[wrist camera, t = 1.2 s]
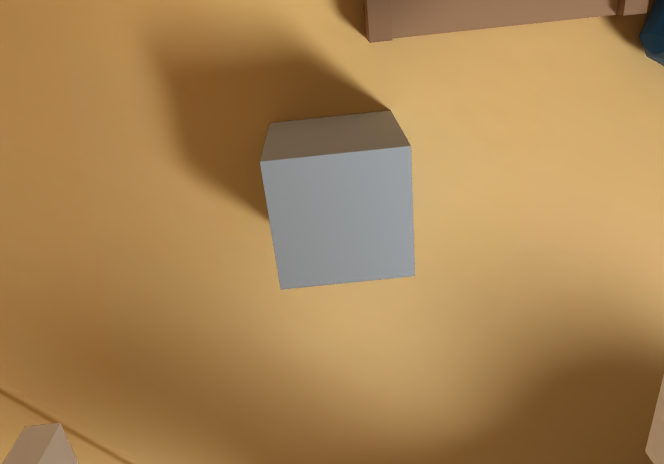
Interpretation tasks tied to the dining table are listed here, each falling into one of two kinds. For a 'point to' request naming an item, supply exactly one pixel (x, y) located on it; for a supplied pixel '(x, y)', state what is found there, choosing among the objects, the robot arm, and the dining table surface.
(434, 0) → the board
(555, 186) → the dining table surface
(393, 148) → the cube
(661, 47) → the ray gun
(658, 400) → the robot arm
